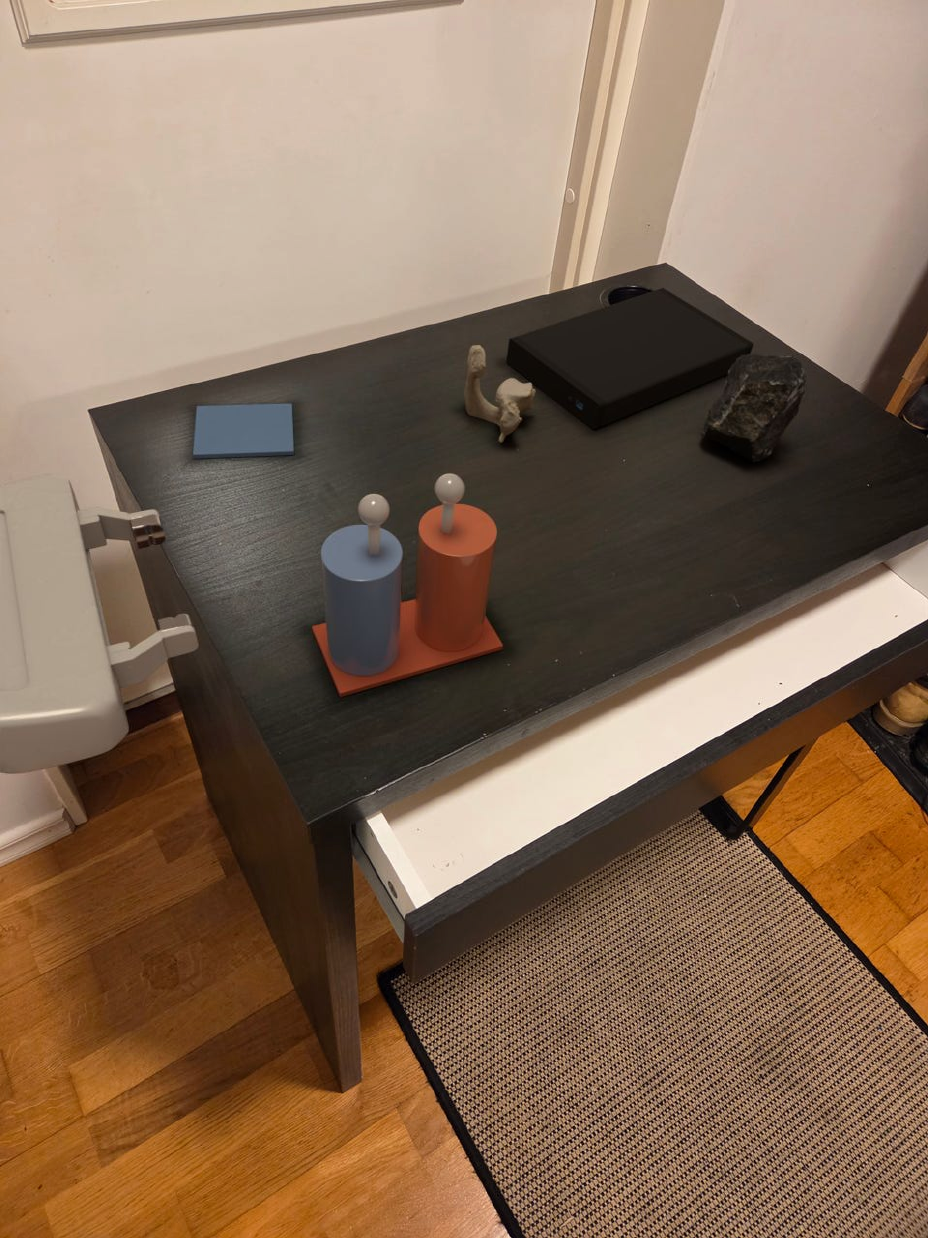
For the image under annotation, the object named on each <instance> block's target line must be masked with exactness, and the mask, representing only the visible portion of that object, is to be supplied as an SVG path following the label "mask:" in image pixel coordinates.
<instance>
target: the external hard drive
mask: <svg viewBox="0 0 928 1238" xmlns="http://www.w3.org/2000/svg"><path fill="white" fill-rule="evenodd" d="M753 348H754V343H753V342H752V341H751V340H749V339H747V338H746V337H744V336H743V335H741V334H739V333H738V332H736V331H734V330H733V329H731V328H729V326H726V325H724V324H723V323H722V322H721V321H718V320H716V319H715V318H713V317H712V316H710V315H708V314H707V313H705V312H704V311H702V310H700V309H699V308H697V307H695V306H694V305H692V304H691V303H689V302H687V301H685V300H684V299H682V298H681V297H680V296H677V295H676V294H674V293H672V292H671V291H670V290H667V289H666V288H664V287H662V288H659V289H655V290H652V291H650V292H645V293H643V294H640V295H637V296H633V297H631V298H628V299H626V300H623V301H618V302H616V303H613V304H610V305H607V306H604V307H601V308H598V309H595V310H592V311H589V312H586V313H583V314H580V315H576V316H574V317H571V318H568V319H565V320H561V321H559V322H556V323H552V324H550V325H546V326H544V327H541V328H538V329H534V330H532V331H528V332H526V333H523V334H520V335H517V336H514V337H511V338H509V339H508V346H507V354H506V363H507V365H509V367H511V368H512V369H513V370H515V371H516V372H517V373H518V374H520V375H521V376H523V377H524V378H525V379H526V380H527V381H529V383H531V384H532V385H534V386H535V387H537V388H538V389H539V390H541V392H543V393H544V394H546V395H547V396H548V397H550V398H551V399H552V400H554V401H555V402H556V403H557V404H559V406H561V407H563V408H564V409H565V410H566V411H568V413H570V414H571V415H573V416H574V417H575V418H577V419H578V420H579V421H581V422H582V423H583V424H584V425H585V426H587V427H588V428H590V429H591V430H592V431H594V430H596V429H599V428H601V427H603V426H606V425H608V424H611V423H613V422H616V421H618V420H621V419H623V418H625V417H627V416H630V415H632V414H635V413H637V412H639V411H642V410H644V409H647V408H649V407H651V406H654V405H656V404H659V403H661V402H664V401H666V400H668V399H672V398H673V397H675V396H678V395H681V394H683V393H686V392H688V391H690V390H693V389H695V388H697V387H699V386H702V385H705V384H707V383H709V382H711V381H714V380H716V379H719V378H721V377H724V376H727V374H728V371H729V369H730V367H731V366H732V365H733V364H734V363H735V361H736V358H739V357H740V356H741V355H748V354H752V351H753Z"/></svg>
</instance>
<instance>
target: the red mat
mask: <svg viewBox="0 0 928 1238" xmlns="http://www.w3.org/2000/svg"><path fill="white" fill-rule="evenodd" d="M414 613H415V598H414V599H410V600H407V601H401V631H400V652H399V656H398V658H397V660H396V661H395V663H394V664H393V665H392V666H391V667H389V668H388V669H387V670H385V671H383V672H381V673H379V674H376V675H371V676H355V675H351V674H348V673H345V672H343V671H341V670H340V669H338V668H337V667H336V666H335V665H334V664H333V663H332V662H331V660H330V658H329V656H328V651H327V638H326V624H325V622H323V623H320V624H316V625H312V626H311V631H312V633H313V636H314V638H315V640H316V643H317V646H318V648H319V650H320V653H321V655H322V658H323V659H324V660H323V661H324V663H325V665H326V667H327V670H328V672H329V674H330V676H331V679H332V681H333V684H334V686H335V688H336V691H337V694H338V696H339V698H343V697H347V696H349V695H352V694H356V693H359V692H363V691H366V690H370V689H373V688H378V687H380V686H383V685H384V686H385V685H387V684H391V683H393V682H397V681H400V680H403V679H404V680H405V679H407V678H411V677H414V676H418V675H421V674H424V673H427V672H431V671H434V670H438V669H441V668H444V667H449V666H451V665H455V664H458V663H461V662H465V661H468V660H471V659H475V658H478V657H482V656H484V655H488V654H492V653H495V652H499V651H502V650H503V649H504V645H503V643H502V642H501V640H500V637H499V636H498V635H497V633H496V631H495V629H494V628H493V626H492V625H491V622H490V621H489V619H488V617H487V616H486V615H485V622H484V629H483V633H482V636H481V637H480V639H479V640H478V641H477V642H476V643H475V644H474V645H472V646H471V647H469V648H467V649H464V650H460V651H454V652H448V651H441V650H437V649H434V648H432V647H430V646H428V645H426V644H425V643H424V642H423V641H422V640H421V639H420V638H419V637H418V635H417V634H416V631H415V628H414Z"/></svg>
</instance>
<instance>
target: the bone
mask: <svg viewBox="0 0 928 1238" xmlns="http://www.w3.org/2000/svg"><path fill="white" fill-rule="evenodd" d="M467 355H468V356H467V360H466V362H467V367H468V368H467V376H466V381H465V385H464V386H465V387H464V393H463V394H464V395H463V396H464V405H465V412H466V413H467V414H468V415H469V416H470V417H474V418H478V419H480V420H484V421H488V422H491V423H493V424H495V425H497V426H498V427H499V431H500V435H499V437H498V442H499V443H500V444H502V443H503V442H504V441H505V438H506V437H507V436H509V435H510V434H511V433H513V432H514V431H515V430H516V429H517V428H518V427H519V425H520V423H521V422H522V420H523V419H522V417H521V415H522V414H525V413H526V412H527V411H530V410H533V409H534V402H533V400H534V397H535V395H536V392H537V391H536V389H535V388H533V383H532V382H527V383H522V382H521V381H519V380H517V379H516V378H514V377H510V378H507V379H506V380H504V381H503V382H502V383H500V385H499V386H498V387H497V390H496V393H495V404H496V406H495V405H493V404H492V403H491V402H490V401H488V399H486V398H485V397H484V396H483V394H482V391H481V378H482V377H483V376H484V373H485V371H486V368H487V365H486V364H487V363H486V357H487V355H486V351H485V348H483V347H482V346H481V344H477V345H472V346H470V348H469V351H468V354H467Z"/></svg>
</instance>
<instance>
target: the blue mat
mask: <svg viewBox="0 0 928 1238" xmlns="http://www.w3.org/2000/svg"><path fill="white" fill-rule="evenodd" d="M193 437H194V438H193V450H192V456H193V459H198V460H199V459H224V458H225V459H226V458H227V459H228V458H249V457H250V458H253V457H254V458H255V457H278V456H279V457H280V456H294V455H295V445H294V423H293V404H292V403H259V404H258V403H257V404H225V405H223V404H222V405H197V406H196V412H195V424H194V436H193Z"/></svg>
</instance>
